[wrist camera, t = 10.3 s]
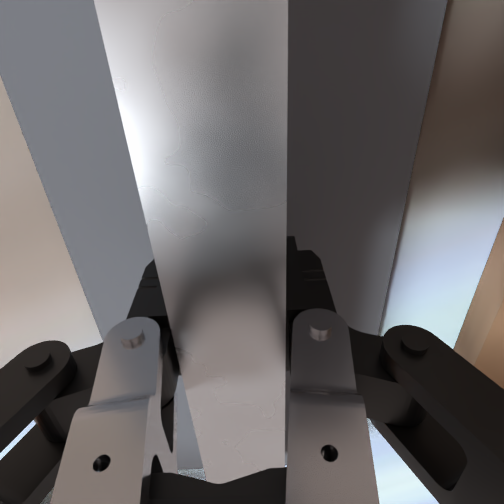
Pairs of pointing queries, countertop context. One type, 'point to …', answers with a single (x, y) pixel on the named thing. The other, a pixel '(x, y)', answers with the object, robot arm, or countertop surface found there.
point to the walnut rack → (487, 318)
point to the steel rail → (214, 204)
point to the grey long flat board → (298, 148)
